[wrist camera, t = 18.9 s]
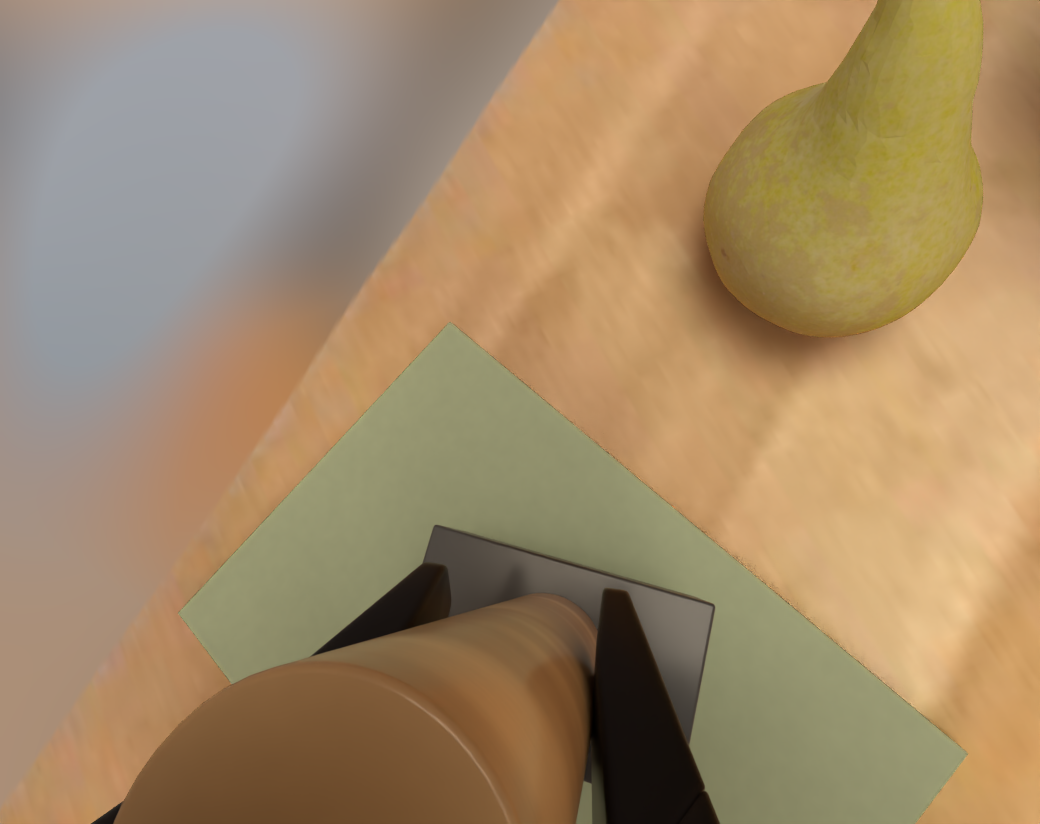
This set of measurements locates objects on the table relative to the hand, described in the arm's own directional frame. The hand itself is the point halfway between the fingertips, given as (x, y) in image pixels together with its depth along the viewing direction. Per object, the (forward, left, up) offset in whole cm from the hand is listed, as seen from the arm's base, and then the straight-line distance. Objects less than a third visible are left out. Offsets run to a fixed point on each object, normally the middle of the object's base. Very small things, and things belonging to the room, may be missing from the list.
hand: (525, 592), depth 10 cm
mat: (-1, +3, -9) cm, 9 cm away
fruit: (+1, -13, -9) cm, 16 cm away
